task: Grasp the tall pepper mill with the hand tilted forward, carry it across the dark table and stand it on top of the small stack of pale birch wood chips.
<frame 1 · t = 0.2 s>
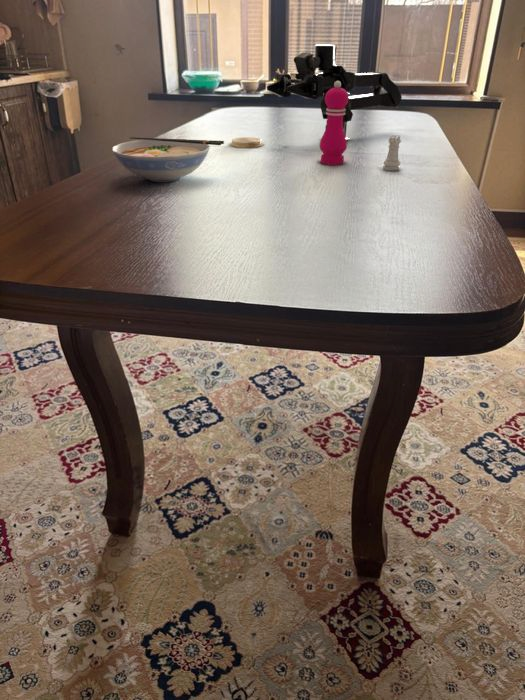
hand: (277, 88, 151), 17 cm above the table, tool horizontal, fingers open, 9 cm apart
pepper mill: (331, 163, 143), on the table
chip stack: (246, 144, 165), on the table
ramen bowl: (164, 179, 126), on the table
rook chess piece: (390, 170, 136), on the table
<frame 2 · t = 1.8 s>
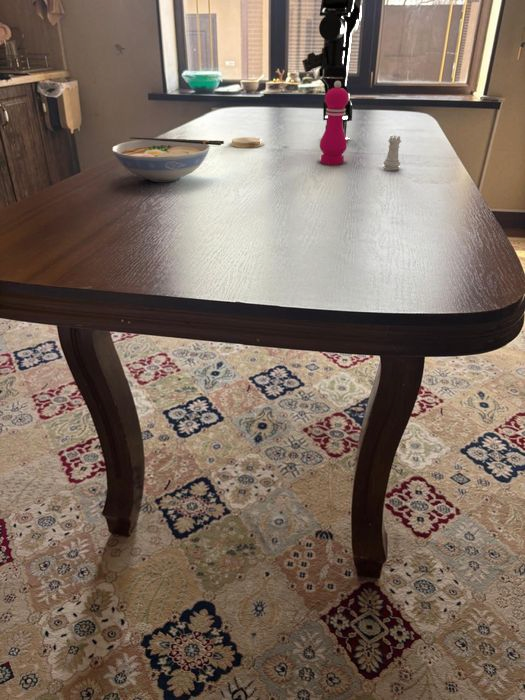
hand: (329, 105, 150), 13 cm above the table, tool pointing down, fingers open, 9 cm apart
nothing on the table moved.
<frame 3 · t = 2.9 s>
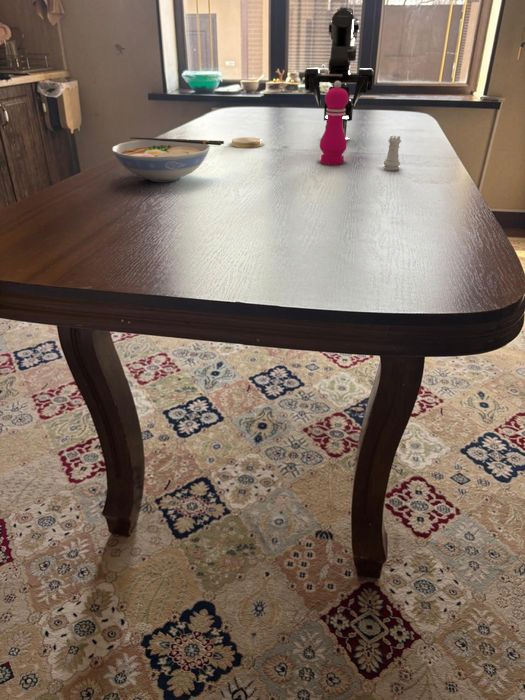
hand: (336, 105, 143), 13 cm above the table, tool tilted 45°, fingers open, 9 cm apart
nothing on the table moved.
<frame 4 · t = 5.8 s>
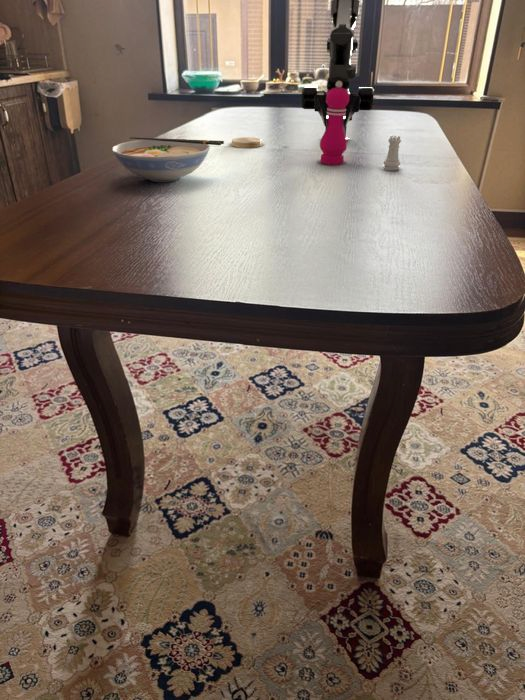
hand: (335, 125, 137), 10 cm above the table, tool tilted 45°, fingers closed on pepper mill, 5 cm apart
pepper mill: (331, 163, 143), on the table, touching gripper
everything else where it was.
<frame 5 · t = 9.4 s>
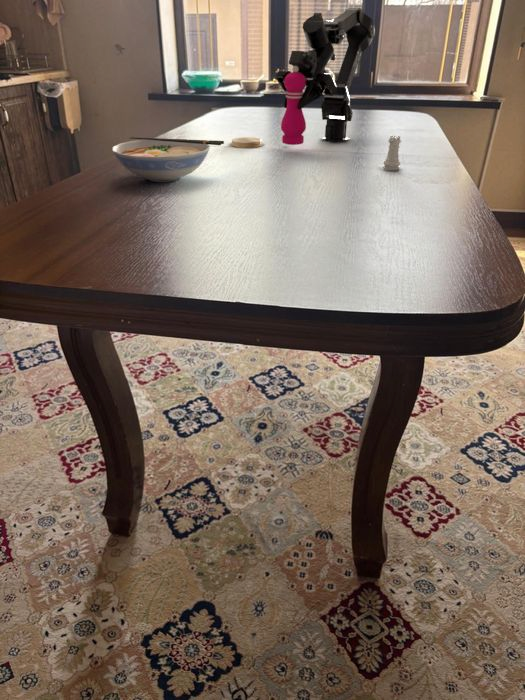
hand: (291, 107, 147), 12 cm above the table, tool tilted 45°, fingers closed on pepper mill, 5 cm apart
pepper mill: (292, 143, 153), point 3 cm above the table, touching gripper
everything else where it was.
when the fingers open (11 cm above the table, at t = 13.4 s): pepper mill stays where it is, resting on chip stack.
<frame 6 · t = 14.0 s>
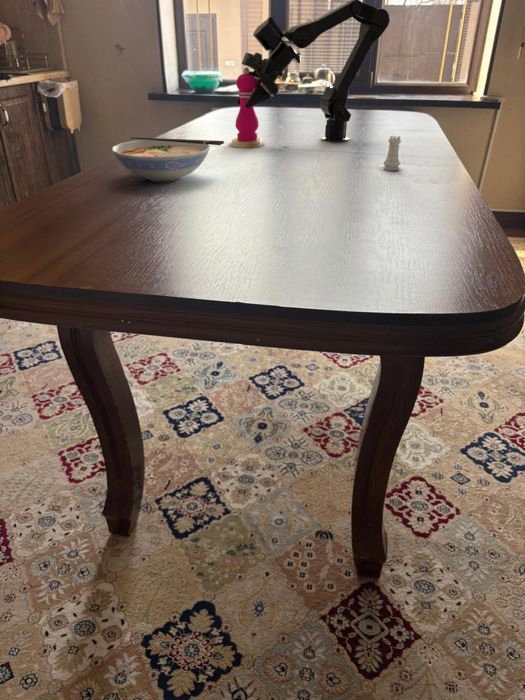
hand: (241, 105, 158), 11 cm above the table, tool tilted 45°, fingers open, 9 cm apart
pepper mill: (247, 140, 164), point 1 cm above the table, touching chip stack
everything else where it was.
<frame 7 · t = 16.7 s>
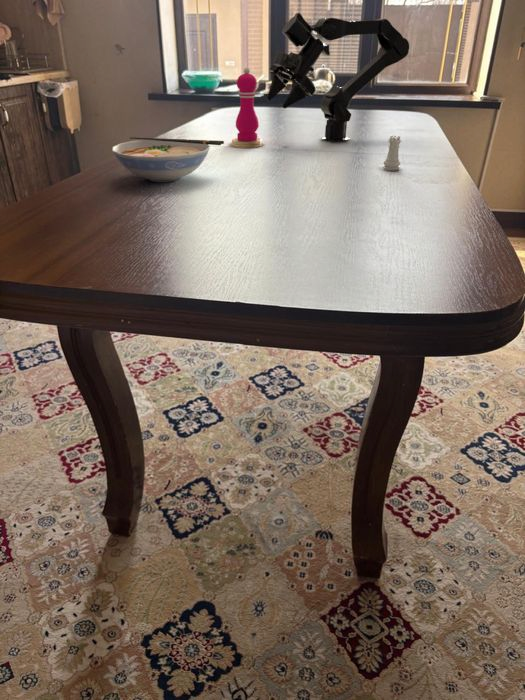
hand: (275, 103, 160), 12 cm above the table, tool tilted 40°, fingers open, 9 cm apart
nothing on the table moved.
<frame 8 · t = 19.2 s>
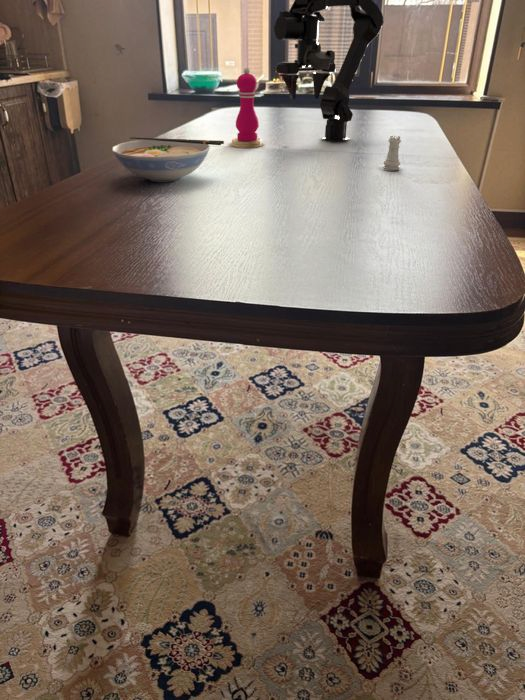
hand: (305, 99, 159), 13 cm above the table, tool pointing down, fingers open, 9 cm apart
nothing on the table moved.
at the end: pepper mill 0.6 cm off-centre on the chip stack, point 1.3 cm above the chip stack's base; pepper mill tilted 0°; the gripper is holding nothing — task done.
